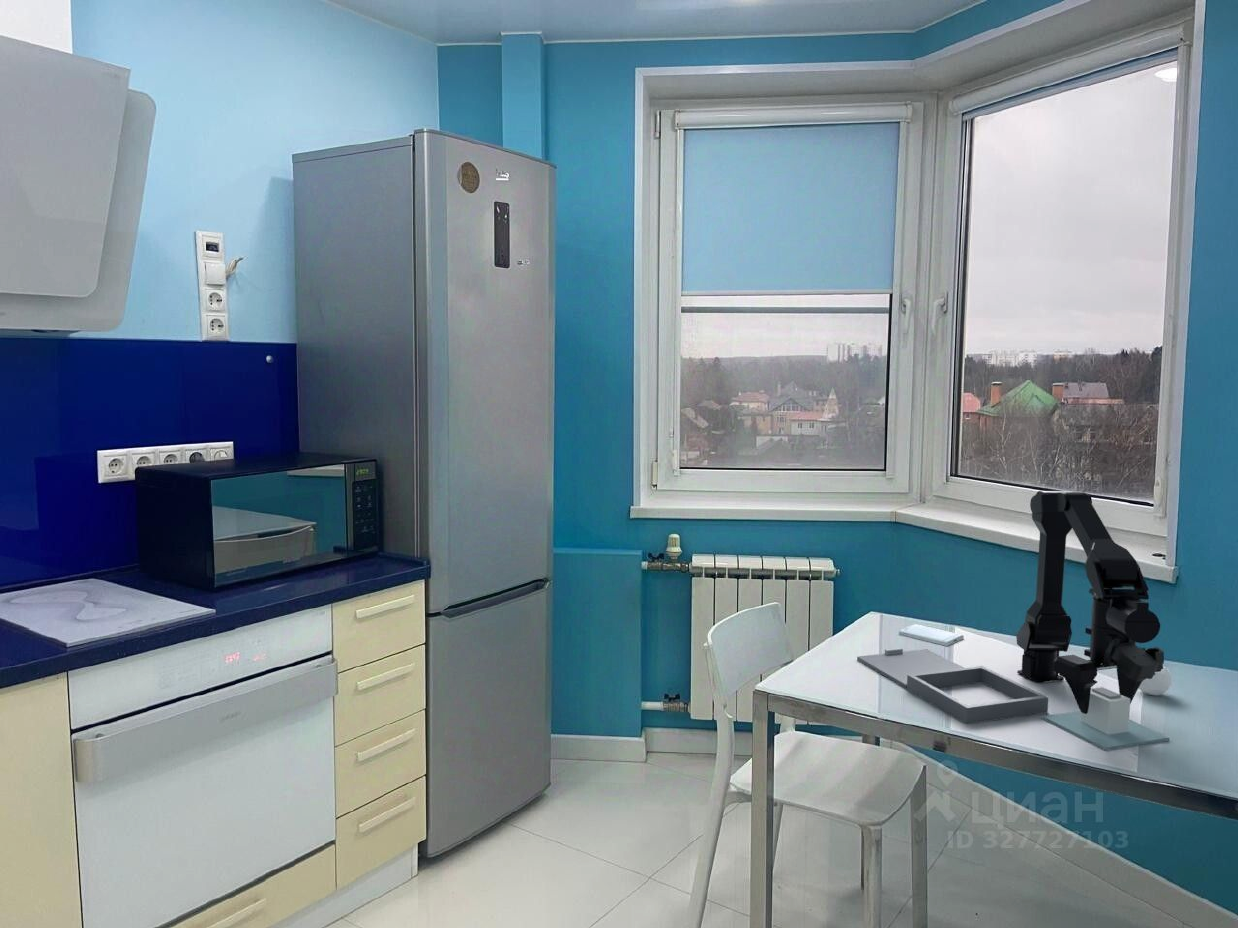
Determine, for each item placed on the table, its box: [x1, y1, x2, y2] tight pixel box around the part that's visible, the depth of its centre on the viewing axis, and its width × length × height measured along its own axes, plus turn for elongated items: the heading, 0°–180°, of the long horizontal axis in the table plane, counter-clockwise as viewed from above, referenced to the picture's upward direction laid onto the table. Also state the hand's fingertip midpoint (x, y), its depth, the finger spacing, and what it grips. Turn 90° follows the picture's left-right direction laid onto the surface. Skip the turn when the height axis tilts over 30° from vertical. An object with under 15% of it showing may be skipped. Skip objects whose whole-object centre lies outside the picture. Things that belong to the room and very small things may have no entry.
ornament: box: [1138, 665, 1172, 696], centre depth 169 cm, size 6×7×7 cm
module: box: [1081, 686, 1131, 735], centre depth 152 cm, size 4×6×6 cm
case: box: [856, 647, 1049, 725], centre depth 175 cm, size 18×36×3 cm, turn 16°
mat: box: [1042, 710, 1170, 751], centre depth 152 cm, size 14×14×1 cm
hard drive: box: [898, 623, 965, 647], centre depth 207 cm, size 2×8×12 cm
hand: (1104, 710), depth 152 cm, fingers open, 9 cm apart
